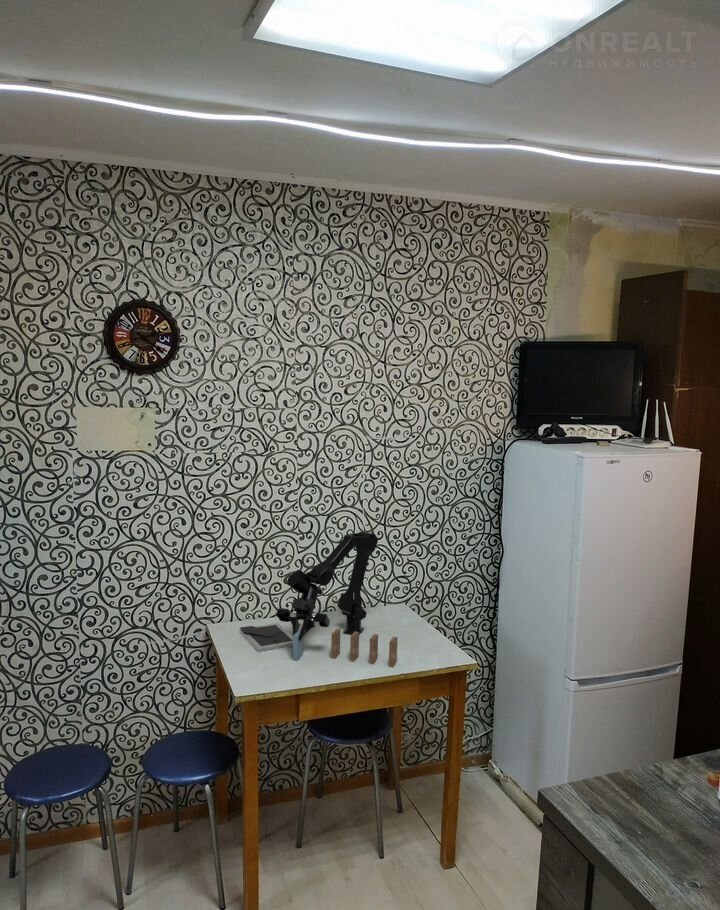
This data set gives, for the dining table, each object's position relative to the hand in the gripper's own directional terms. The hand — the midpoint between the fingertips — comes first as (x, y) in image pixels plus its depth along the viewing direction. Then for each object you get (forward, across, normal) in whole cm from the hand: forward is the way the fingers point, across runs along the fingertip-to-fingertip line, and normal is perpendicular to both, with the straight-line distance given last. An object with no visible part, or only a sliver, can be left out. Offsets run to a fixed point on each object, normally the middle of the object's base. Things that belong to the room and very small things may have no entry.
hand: (296, 639), depth 246 cm
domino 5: (0, +33, +10) cm, 35 cm away
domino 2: (0, +12, +10) cm, 16 cm away
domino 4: (0, +26, +10) cm, 28 cm away
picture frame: (-4, -17, +15) cm, 23 cm away
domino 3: (0, +19, +10) cm, 22 cm away
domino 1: (+4, 0, +6) cm, 7 cm away
